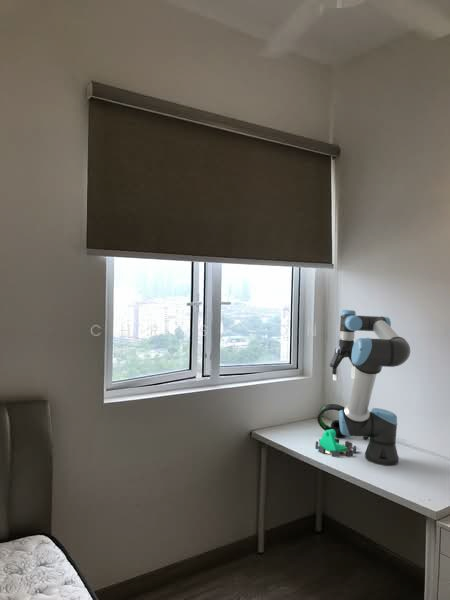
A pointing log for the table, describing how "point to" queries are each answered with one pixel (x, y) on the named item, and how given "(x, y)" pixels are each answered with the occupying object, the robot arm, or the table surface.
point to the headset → (335, 423)
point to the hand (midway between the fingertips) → (344, 379)
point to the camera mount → (331, 442)
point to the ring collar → (338, 453)
